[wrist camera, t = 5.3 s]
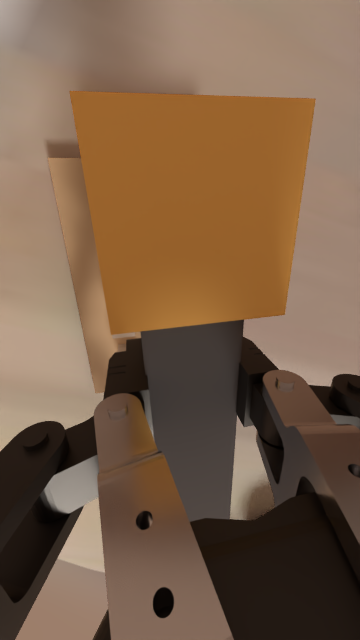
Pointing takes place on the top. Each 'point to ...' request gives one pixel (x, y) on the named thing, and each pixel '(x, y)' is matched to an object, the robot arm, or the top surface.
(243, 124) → the grey and orange bar
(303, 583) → the robot arm
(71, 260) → the board
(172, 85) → the top surface
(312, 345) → the top surface
